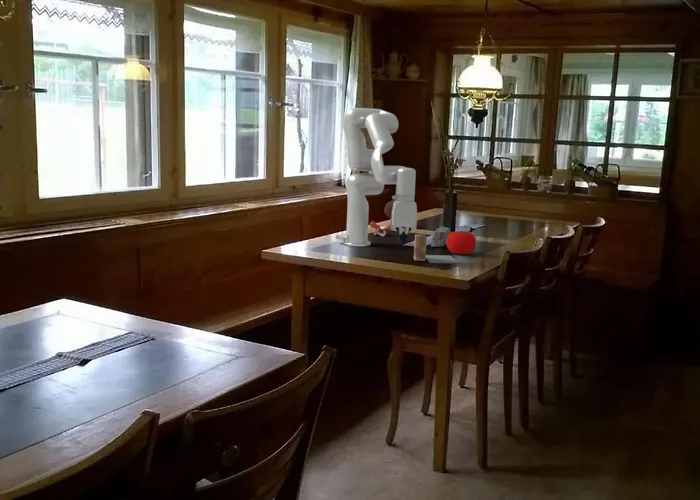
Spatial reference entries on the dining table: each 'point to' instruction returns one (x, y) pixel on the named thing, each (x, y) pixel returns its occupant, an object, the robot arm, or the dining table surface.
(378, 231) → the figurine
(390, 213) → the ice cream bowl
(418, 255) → the block
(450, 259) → the mat
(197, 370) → the dining table surface
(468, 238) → the tomato
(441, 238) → the rock
